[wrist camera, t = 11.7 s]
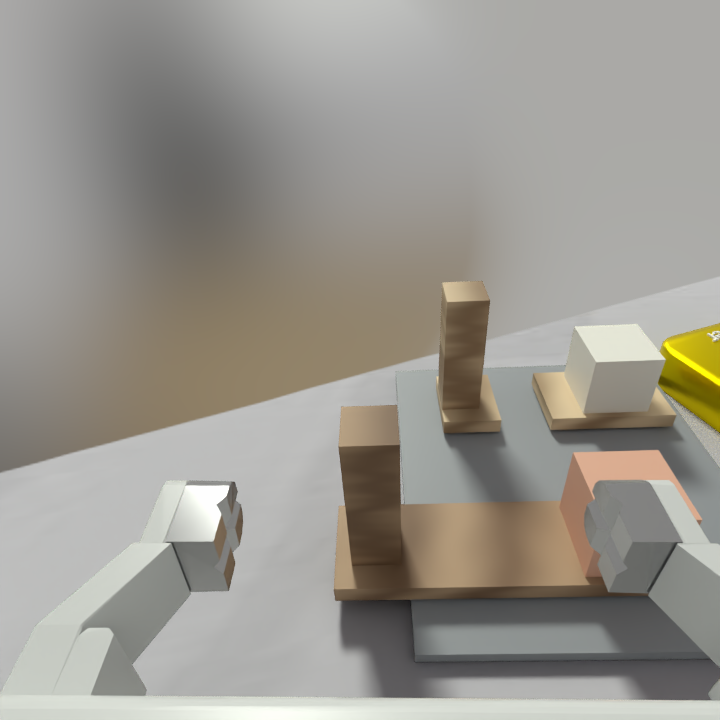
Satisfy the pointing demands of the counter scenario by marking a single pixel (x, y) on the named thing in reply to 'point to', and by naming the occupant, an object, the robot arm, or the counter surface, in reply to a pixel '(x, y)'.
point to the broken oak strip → (473, 390)
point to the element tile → (694, 372)
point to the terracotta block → (607, 467)
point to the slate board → (537, 483)
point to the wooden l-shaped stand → (441, 533)
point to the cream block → (612, 368)
